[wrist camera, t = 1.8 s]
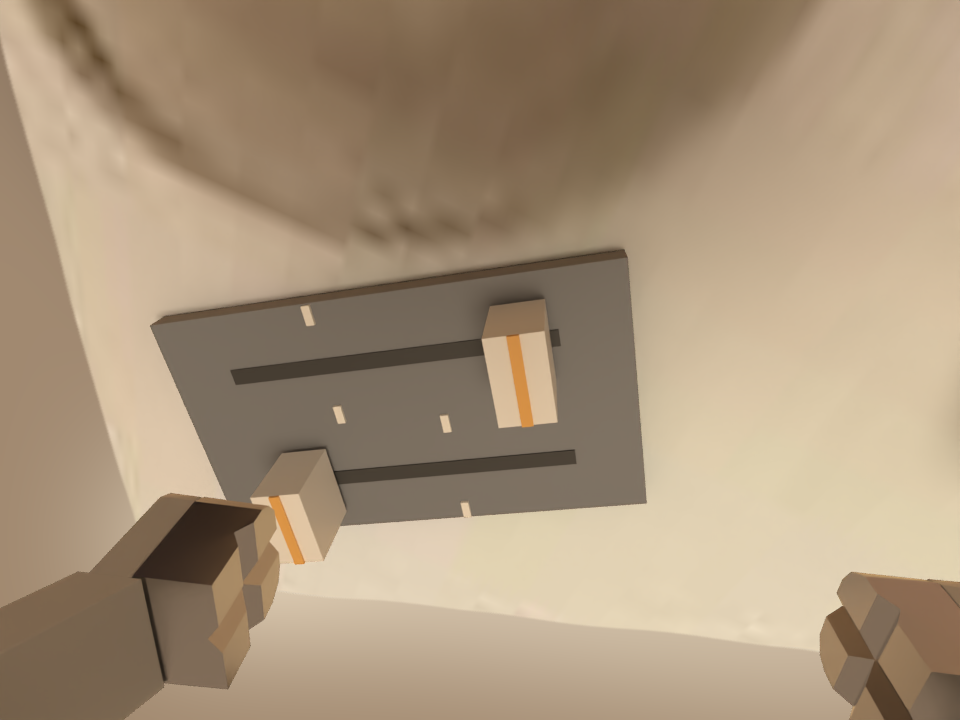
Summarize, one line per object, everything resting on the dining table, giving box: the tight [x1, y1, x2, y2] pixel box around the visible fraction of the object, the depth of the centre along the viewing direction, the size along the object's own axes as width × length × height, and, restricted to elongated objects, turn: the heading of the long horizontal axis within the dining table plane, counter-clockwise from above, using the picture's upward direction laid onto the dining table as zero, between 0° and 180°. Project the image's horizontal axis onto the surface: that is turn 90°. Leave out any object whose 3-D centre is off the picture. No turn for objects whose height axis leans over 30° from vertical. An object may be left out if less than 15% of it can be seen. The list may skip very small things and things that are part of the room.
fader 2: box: [482, 299, 558, 428], centre depth 31 cm, size 3×5×5 cm, turn 10°
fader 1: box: [250, 449, 347, 564], centre depth 37 cm, size 3×5×5 cm, turn 10°
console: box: [150, 250, 647, 526], centre depth 37 cm, size 28×16×2 cm, turn 100°
